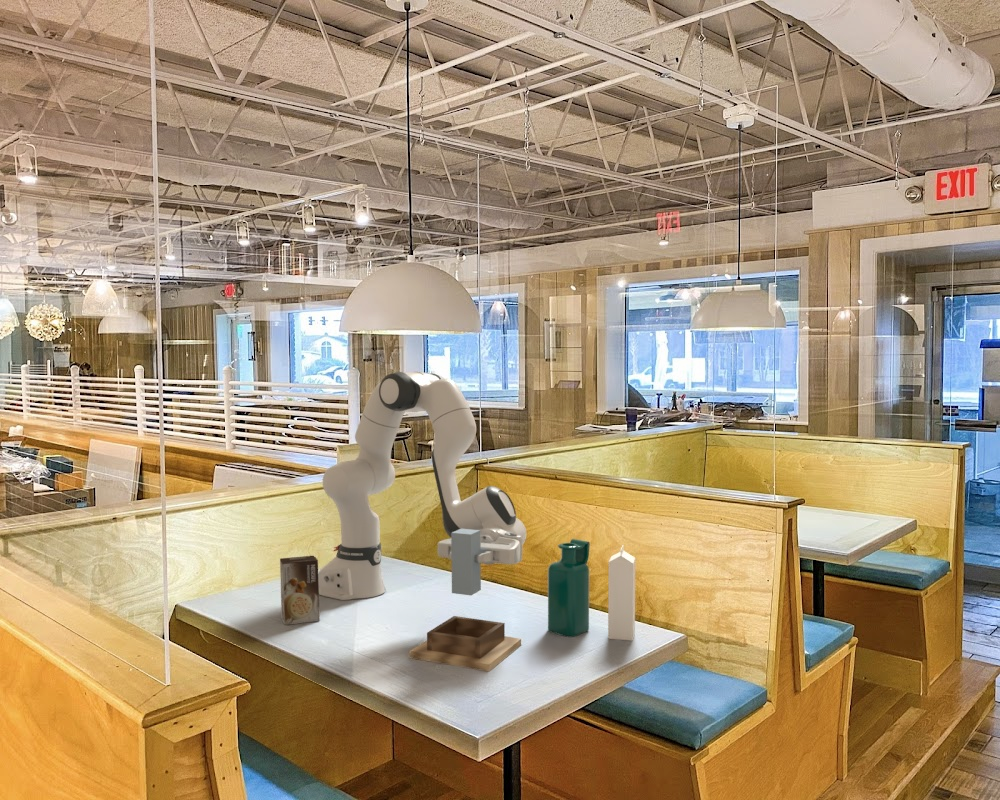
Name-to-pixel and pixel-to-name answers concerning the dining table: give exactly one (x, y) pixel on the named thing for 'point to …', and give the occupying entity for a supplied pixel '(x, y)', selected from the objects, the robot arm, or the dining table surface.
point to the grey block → (465, 561)
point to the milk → (621, 596)
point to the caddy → (467, 644)
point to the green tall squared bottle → (569, 590)
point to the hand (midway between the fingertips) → (464, 557)
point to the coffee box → (299, 590)
